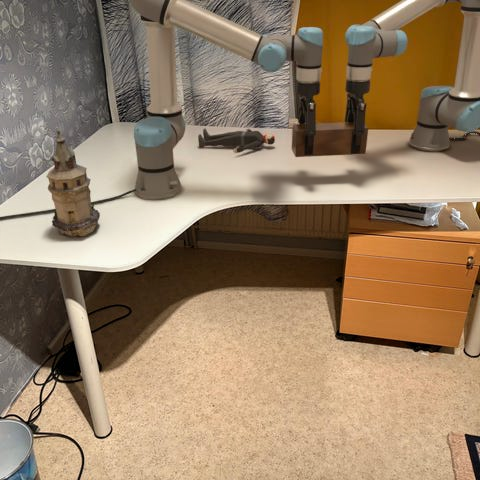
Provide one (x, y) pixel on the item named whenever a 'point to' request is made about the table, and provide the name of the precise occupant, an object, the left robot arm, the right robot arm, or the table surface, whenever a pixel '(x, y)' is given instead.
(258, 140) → the toy
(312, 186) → the table surface
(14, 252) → the table surface
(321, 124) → the box
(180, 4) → the left robot arm
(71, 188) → the miniature building
